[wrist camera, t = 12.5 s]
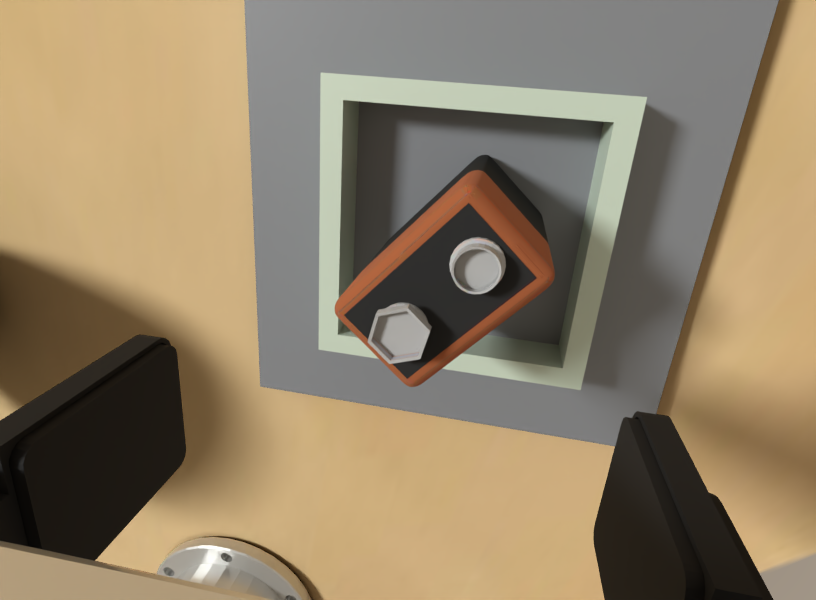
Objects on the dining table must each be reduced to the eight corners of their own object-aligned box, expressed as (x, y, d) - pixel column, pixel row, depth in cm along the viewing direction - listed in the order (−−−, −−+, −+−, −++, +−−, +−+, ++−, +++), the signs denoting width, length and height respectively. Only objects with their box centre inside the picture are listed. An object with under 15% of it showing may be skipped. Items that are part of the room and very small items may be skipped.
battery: (383, 243, 27) (316, 321, 18) (485, 148, 24) (467, 182, 15) (442, 304, 27) (405, 410, 18) (546, 218, 25) (565, 291, 16)
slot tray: (640, 440, 29) (656, 483, 26) (267, 378, 32) (240, 409, 29) (773, -17, 21) (820, -36, 18) (253, -40, 24) (213, -59, 21)
